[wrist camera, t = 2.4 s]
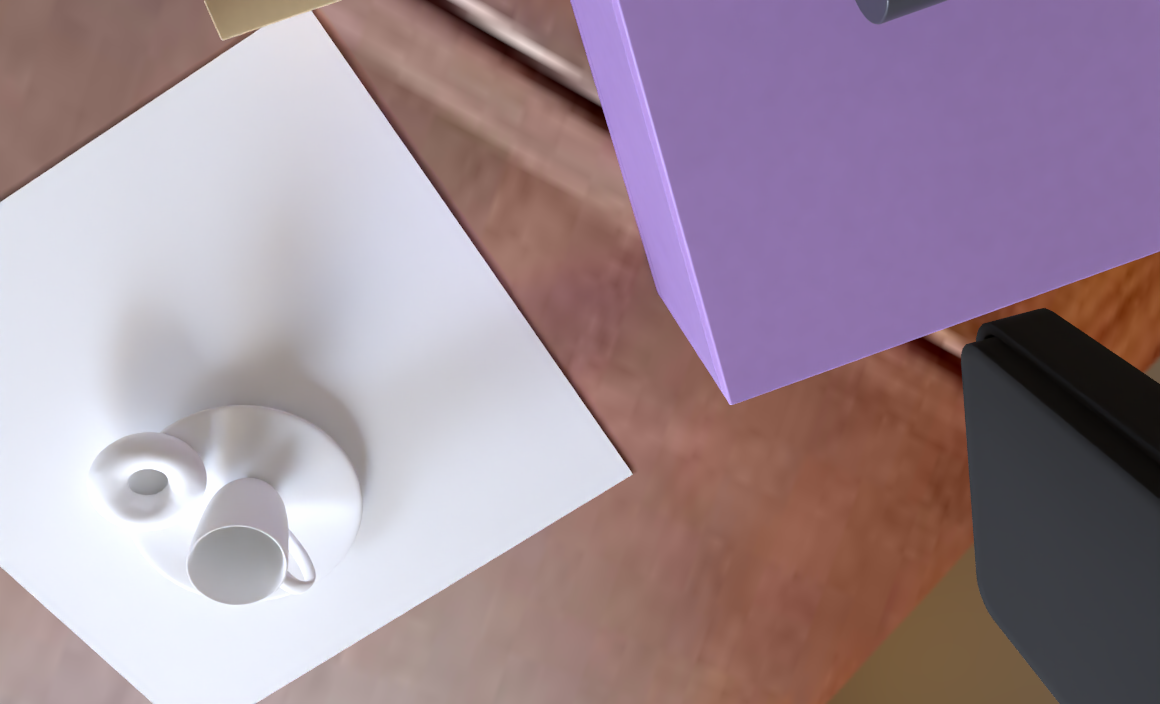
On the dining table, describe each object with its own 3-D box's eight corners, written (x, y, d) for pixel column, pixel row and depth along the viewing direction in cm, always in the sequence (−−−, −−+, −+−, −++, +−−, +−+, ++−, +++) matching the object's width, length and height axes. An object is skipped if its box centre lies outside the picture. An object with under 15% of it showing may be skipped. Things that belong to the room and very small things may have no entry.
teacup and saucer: (59, 463, 37) (24, 530, 33) (254, 338, 36) (241, 392, 32) (227, 628, 41) (213, 705, 37) (406, 518, 40) (410, 585, 36)
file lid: (584, -93, 25) (640, -79, 20) (1177, -300, 25) (1385, -338, 20) (722, 394, 31) (792, 503, 26) (1201, 221, 31) (1365, 295, 26)
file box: (546, -78, 32) (594, -58, 25) (1006, -237, 33) (1178, -261, 26) (657, 293, 38) (721, 393, 31) (1049, 153, 38) (1199, 221, 31)
